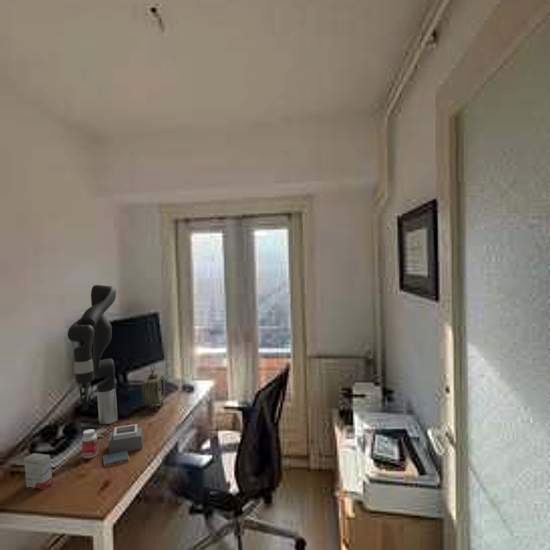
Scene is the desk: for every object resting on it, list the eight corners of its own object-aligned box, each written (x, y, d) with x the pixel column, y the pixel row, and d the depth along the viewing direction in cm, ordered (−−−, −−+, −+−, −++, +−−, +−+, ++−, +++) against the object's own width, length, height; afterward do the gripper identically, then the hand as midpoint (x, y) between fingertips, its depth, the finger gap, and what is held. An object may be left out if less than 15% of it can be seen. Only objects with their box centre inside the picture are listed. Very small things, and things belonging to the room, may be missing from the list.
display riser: (111, 444, 202) (110, 428, 202) (142, 439, 206) (141, 423, 206) (109, 454, 193) (108, 436, 192) (142, 448, 197) (141, 431, 196)
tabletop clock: (159, 412, 241) (156, 368, 239) (142, 413, 241) (139, 368, 240) (166, 403, 255) (163, 361, 254) (150, 404, 255) (147, 362, 254)
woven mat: (104, 469, 180) (103, 464, 180) (102, 459, 190) (102, 454, 190) (130, 463, 185) (130, 458, 185) (127, 453, 194) (127, 448, 194)
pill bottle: (96, 457, 190) (95, 432, 190) (81, 459, 189) (79, 435, 188) (99, 451, 196) (97, 427, 196) (84, 453, 195) (82, 429, 194)
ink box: (53, 483, 170) (51, 454, 169) (43, 490, 165) (40, 460, 165) (36, 481, 173) (34, 452, 172) (25, 487, 168) (23, 457, 167)
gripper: (91, 373, 184) (94, 410, 185) (95, 365, 198) (97, 400, 199) (72, 375, 182) (75, 413, 183) (77, 367, 196) (80, 402, 197)
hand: (86, 406), depth 191 cm, fingers open, 8 cm apart
